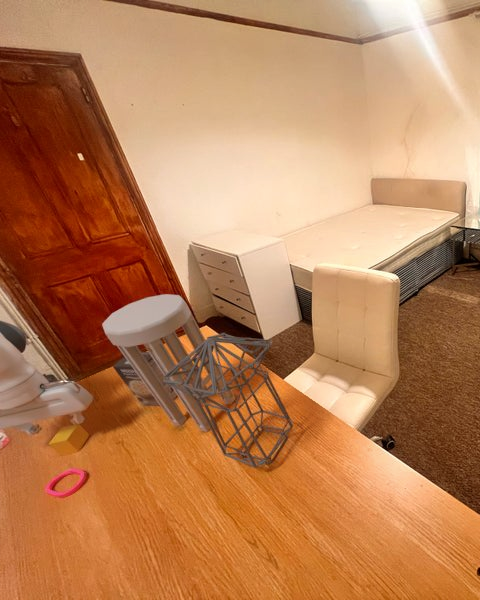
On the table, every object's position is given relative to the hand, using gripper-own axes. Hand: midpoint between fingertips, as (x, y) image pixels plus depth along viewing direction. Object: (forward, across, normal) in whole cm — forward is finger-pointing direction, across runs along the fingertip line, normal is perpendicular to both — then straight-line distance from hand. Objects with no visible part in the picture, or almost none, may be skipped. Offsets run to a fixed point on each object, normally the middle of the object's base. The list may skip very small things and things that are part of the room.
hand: (58, 427), depth 78 cm
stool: (+8, -32, -1) cm, 33 cm away
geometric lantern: (+8, -50, +16) cm, 53 cm away
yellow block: (+8, 0, 0) cm, 8 cm away
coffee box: (+8, -17, -11) cm, 21 cm away
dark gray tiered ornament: (+8, +12, -19) cm, 24 cm away
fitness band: (+8, -5, +12) cm, 15 cm away
